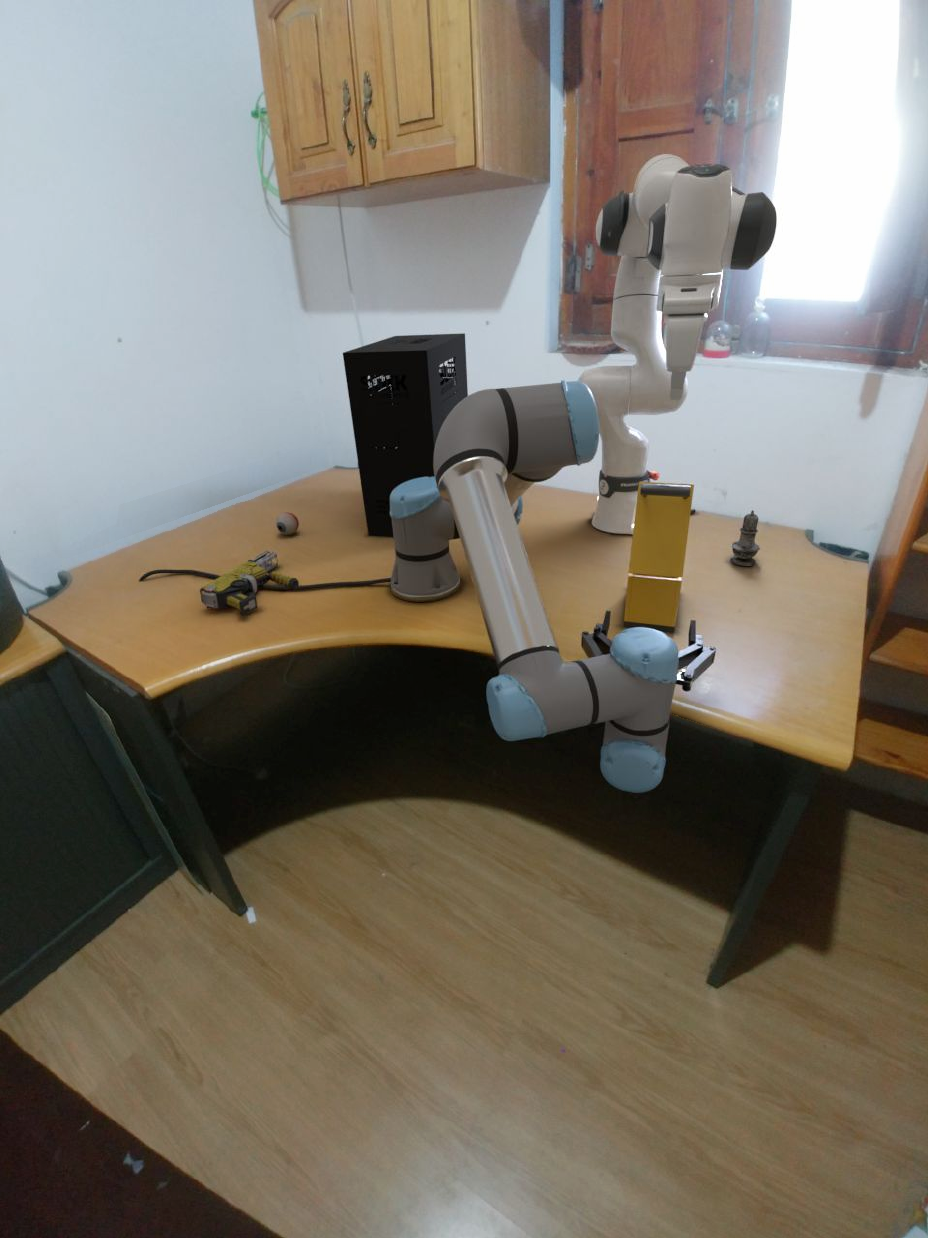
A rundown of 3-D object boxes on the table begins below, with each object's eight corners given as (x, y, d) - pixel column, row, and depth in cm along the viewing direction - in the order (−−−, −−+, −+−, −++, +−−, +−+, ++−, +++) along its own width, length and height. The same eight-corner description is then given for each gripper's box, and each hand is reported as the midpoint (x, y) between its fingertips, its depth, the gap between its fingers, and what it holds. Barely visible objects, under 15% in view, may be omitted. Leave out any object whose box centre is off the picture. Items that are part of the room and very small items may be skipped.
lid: (639, 482, 108) (637, 474, 100) (693, 485, 105) (696, 476, 97) (628, 573, 110) (626, 572, 101) (682, 577, 107) (684, 577, 98)
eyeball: (273, 537, 164) (268, 516, 161) (287, 528, 169) (282, 508, 166) (291, 539, 161) (286, 518, 158) (305, 530, 166) (301, 510, 163)
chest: (630, 590, 127) (635, 543, 122) (676, 594, 124) (683, 546, 119) (623, 626, 115) (628, 576, 109) (674, 632, 112) (681, 580, 107)
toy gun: (318, 559, 142) (264, 548, 146) (255, 602, 122) (194, 588, 125) (320, 577, 144) (266, 565, 148) (258, 622, 124) (198, 608, 128)
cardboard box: (441, 538, 157) (426, 350, 134) (368, 534, 161) (342, 352, 139) (472, 491, 188) (464, 333, 166) (410, 490, 193) (395, 335, 170)
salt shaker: (759, 566, 133) (770, 515, 127) (731, 565, 134) (740, 514, 128) (754, 555, 138) (764, 505, 132) (726, 555, 139) (735, 505, 133)
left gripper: (550, 705, 89) (573, 632, 107) (731, 734, 82) (725, 650, 99) (551, 663, 86) (575, 594, 103) (741, 690, 78) (733, 611, 96)
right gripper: (668, 294, 100) (659, 382, 107) (663, 301, 83) (652, 405, 90) (709, 292, 98) (696, 382, 105) (712, 299, 82) (697, 406, 88)
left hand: (649, 622), depth 101 cm, fingers open, 13 cm apart
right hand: (676, 393), depth 98 cm, fingers open, 8 cm apart
